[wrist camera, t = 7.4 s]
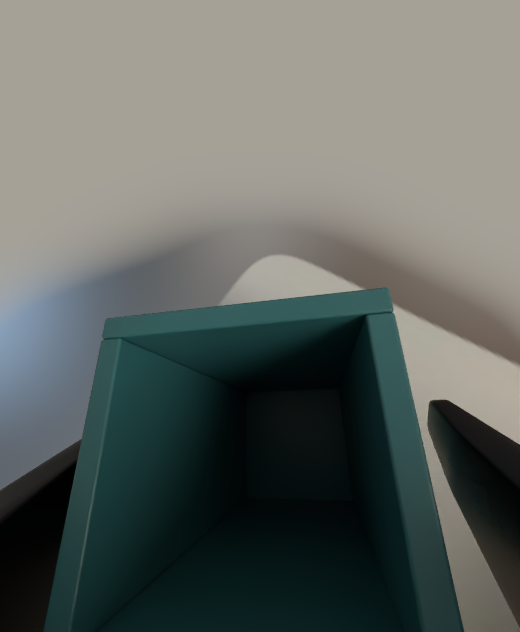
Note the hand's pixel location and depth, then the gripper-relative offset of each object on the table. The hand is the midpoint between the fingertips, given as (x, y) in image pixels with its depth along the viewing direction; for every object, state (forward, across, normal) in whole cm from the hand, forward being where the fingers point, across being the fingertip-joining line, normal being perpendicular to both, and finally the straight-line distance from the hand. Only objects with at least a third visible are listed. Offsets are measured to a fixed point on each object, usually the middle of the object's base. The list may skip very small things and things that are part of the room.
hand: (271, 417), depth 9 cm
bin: (+4, 0, +6) cm, 7 cm away
